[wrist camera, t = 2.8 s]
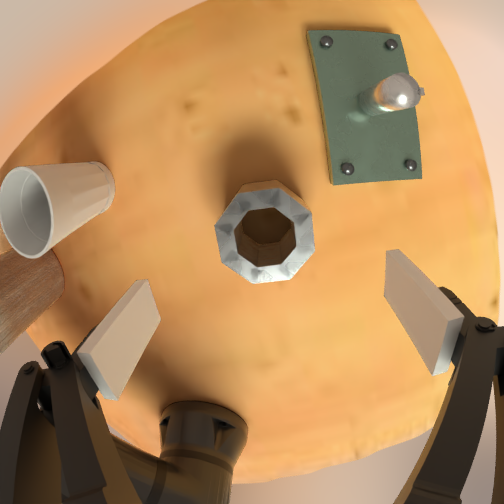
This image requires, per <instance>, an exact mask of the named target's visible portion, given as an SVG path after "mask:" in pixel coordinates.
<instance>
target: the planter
mask: <svg viewBox="0 0 504 504" xmlns="http://www.w3.org/2000/svg"><path fill="white" fill-rule="evenodd" d="M63 290H64V276H63V272H62V268H61V266H60V263H59V261H58V259H57V257H56V256H55V254H54V253H53V251H52V250H51V249H49V250H48V251H47V252H46V253H44V254H43V255H42V256H40V257H38V258H27V257H24V256H22V255H21V254H19V253H18V252H17V251H16V250H15V249H14V248H12V249H10V250H8V251H7V252H5V253H3V254H1V255H0V355H1V354H2V353H3V352H4V351H5V350H6V349H7V348H8V347H9V346H10V345H11V344H12V343H13V342H14V341H15V340H16V339H17V338H18V337H19V336H20V335H21V334H22V333H23V332H24V331H25V330H26V329H27V328H28V327H29V326H30V325H31V324H32V323H33V322H34V321H35V320H36V319H37V318H38V317H39V316H41V315H42V314H43V313H44V312H45V311H46V310H47V309H48V308H49V307H50V306H51V305H53V304H54V303H55V302H56V301H57V300H58V299H59V298H60V296H61V295H62V293H63Z"/></svg>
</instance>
